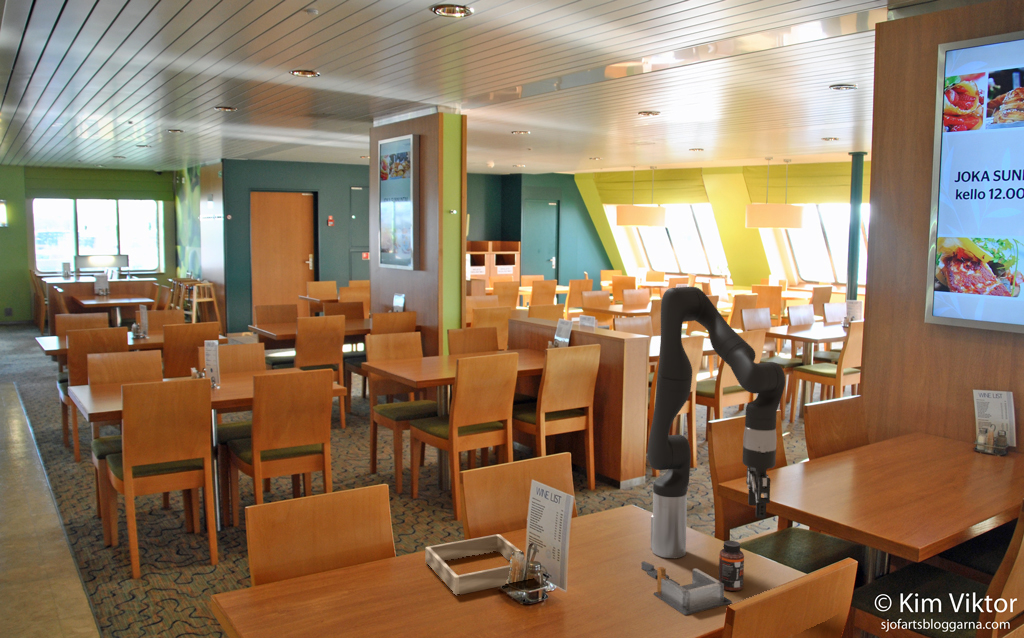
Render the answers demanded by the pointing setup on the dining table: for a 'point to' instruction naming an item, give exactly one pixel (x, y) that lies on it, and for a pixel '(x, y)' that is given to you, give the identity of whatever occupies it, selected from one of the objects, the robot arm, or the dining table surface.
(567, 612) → the dining table surface
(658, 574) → the keeper
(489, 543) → the frame
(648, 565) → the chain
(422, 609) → the dining table surface
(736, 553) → the supplement bottle
